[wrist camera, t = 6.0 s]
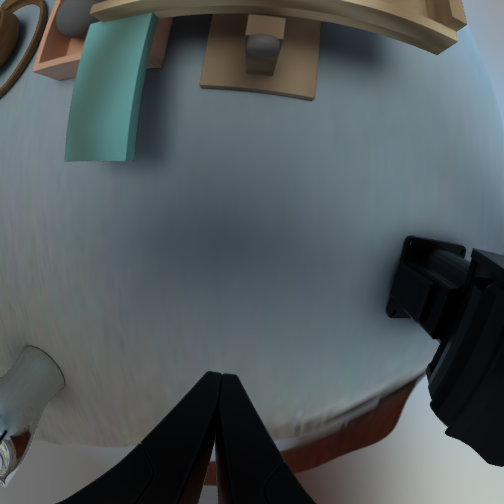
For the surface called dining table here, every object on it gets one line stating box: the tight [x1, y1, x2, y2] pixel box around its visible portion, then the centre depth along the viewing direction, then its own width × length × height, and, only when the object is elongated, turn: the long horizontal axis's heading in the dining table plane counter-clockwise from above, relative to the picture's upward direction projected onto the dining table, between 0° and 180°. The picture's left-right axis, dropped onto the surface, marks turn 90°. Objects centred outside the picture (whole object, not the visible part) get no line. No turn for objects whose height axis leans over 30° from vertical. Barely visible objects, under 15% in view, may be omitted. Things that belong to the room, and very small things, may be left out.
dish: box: [33, 0, 174, 81], centre depth 12 cm, size 9×9×4 cm
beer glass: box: [0, 346, 64, 487], centre depth 15 cm, size 7×7×15 cm
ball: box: [56, 0, 107, 38], centre depth 11 cm, size 4×4×4 cm
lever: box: [64, 0, 467, 162], centre depth 8 cm, size 18×14×3 cm
